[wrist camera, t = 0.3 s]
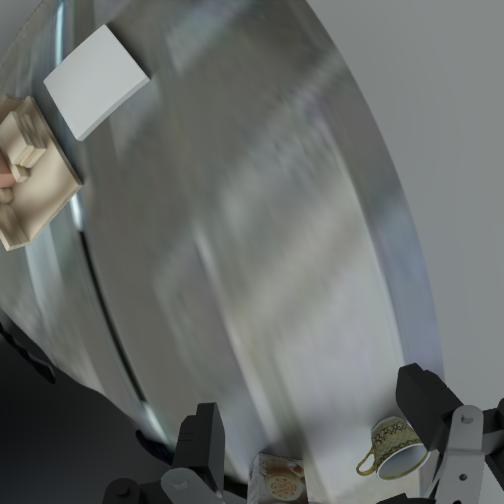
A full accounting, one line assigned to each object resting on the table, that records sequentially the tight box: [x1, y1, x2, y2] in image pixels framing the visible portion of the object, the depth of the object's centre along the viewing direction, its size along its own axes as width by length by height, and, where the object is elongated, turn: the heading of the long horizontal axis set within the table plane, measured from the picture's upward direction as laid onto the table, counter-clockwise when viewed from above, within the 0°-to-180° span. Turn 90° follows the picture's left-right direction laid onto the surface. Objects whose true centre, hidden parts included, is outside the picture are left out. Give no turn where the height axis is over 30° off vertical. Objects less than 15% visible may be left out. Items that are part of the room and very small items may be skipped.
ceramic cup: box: [356, 416, 431, 481], centre depth 41 cm, size 13×10×10 cm
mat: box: [43, 24, 150, 141], centre depth 34 cm, size 14×13×2 cm
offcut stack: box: [0, 111, 47, 168], centre depth 33 cm, size 8×4×4 cm, turn 36°
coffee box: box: [247, 453, 309, 504], centre depth 39 cm, size 9×6×16 cm
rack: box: [0, 94, 83, 251], centre depth 34 cm, size 20×14×6 cm
